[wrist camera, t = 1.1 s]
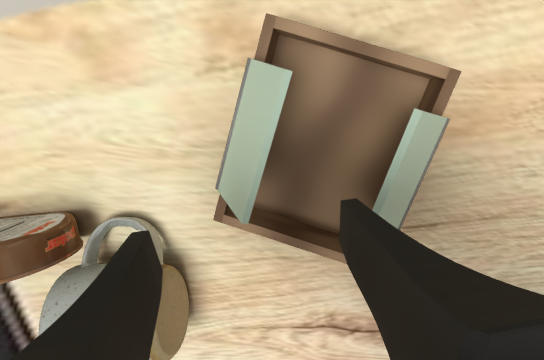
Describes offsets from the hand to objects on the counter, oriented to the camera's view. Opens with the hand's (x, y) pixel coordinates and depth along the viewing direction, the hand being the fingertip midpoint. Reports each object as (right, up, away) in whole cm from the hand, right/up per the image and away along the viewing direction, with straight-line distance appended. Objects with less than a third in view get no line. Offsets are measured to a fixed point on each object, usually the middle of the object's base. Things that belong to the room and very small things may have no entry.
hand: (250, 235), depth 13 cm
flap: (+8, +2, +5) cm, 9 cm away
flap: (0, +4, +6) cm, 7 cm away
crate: (+4, +5, +11) cm, 13 cm away
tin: (-20, -2, +17) cm, 26 cm away
